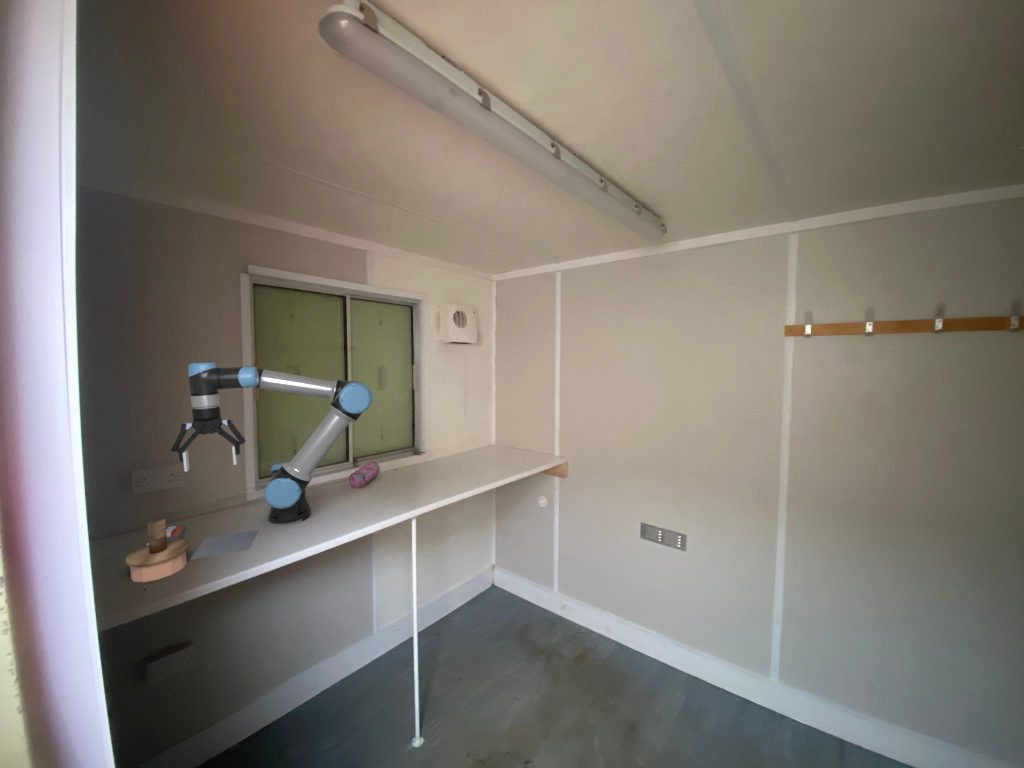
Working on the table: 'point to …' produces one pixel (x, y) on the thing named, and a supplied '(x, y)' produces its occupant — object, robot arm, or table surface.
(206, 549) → the slate mat
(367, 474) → the pencil case
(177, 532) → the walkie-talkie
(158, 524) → the walnut lid
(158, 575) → the terracotta bowl
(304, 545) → the table surface
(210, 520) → the table surface
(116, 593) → the table surface
